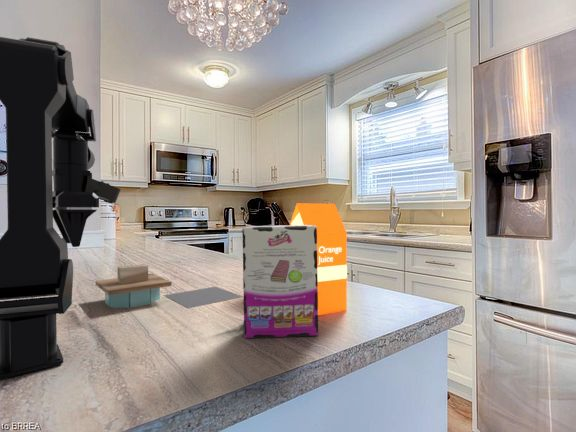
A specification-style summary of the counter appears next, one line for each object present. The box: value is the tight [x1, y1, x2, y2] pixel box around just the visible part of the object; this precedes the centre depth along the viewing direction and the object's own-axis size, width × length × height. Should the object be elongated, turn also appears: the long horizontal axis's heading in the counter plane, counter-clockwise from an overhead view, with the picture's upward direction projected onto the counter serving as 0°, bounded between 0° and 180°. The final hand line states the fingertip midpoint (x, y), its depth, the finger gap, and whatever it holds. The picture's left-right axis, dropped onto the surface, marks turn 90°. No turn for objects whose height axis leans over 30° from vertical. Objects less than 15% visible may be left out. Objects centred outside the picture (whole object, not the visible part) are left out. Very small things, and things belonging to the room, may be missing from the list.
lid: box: [95, 263, 173, 295], centre depth 65 cm, size 11×11×4 cm
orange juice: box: [289, 202, 348, 316], centre depth 63 cm, size 8×9×20 cm
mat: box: [163, 286, 244, 309], centre depth 68 cm, size 12×12×1 cm
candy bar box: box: [242, 224, 319, 339], centre depth 51 cm, size 11×5×16 cm, turn 94°
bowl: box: [104, 288, 161, 309], centre depth 65 cm, size 9×9×4 cm
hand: (72, 244), depth 65 cm, fingers open, 9 cm apart
